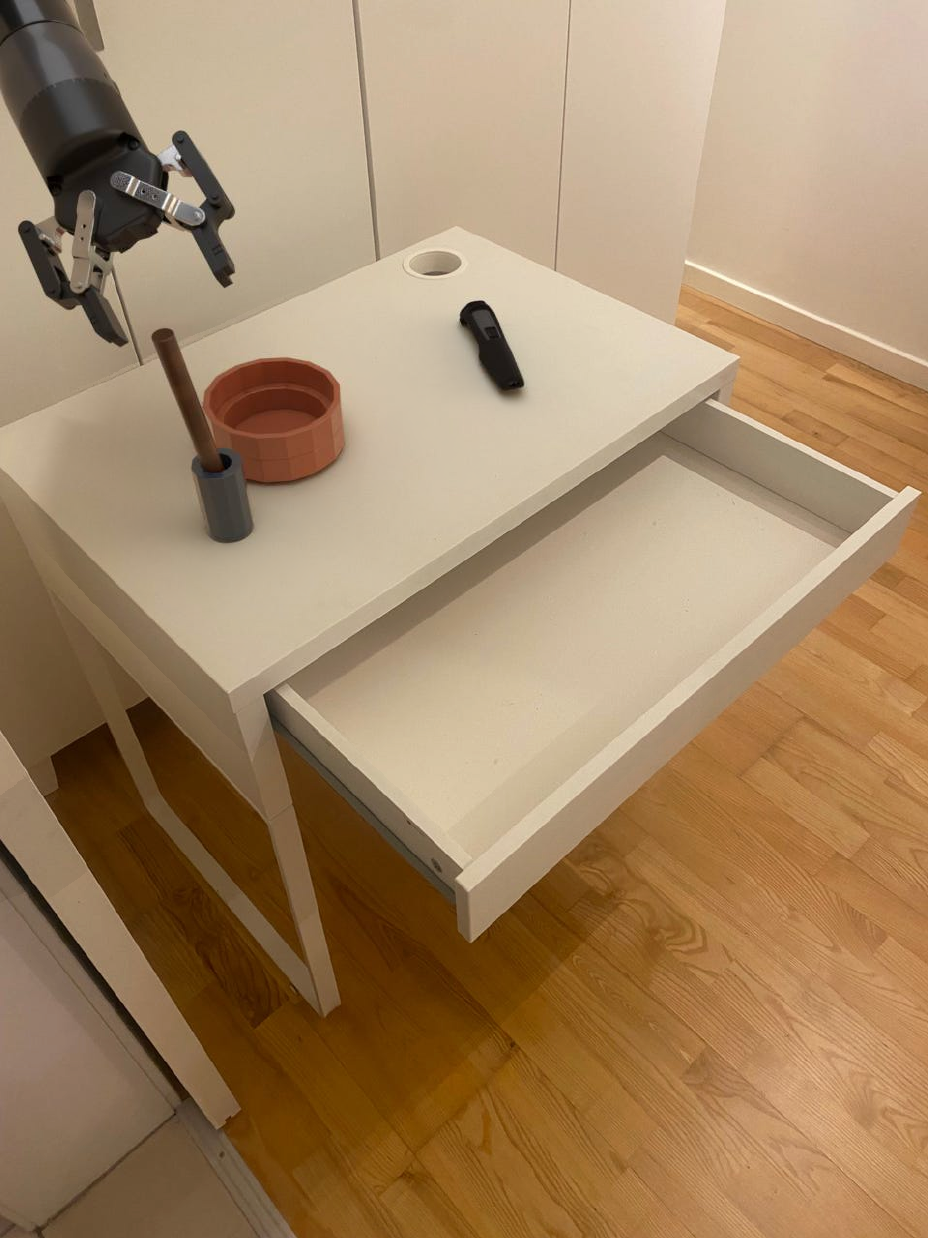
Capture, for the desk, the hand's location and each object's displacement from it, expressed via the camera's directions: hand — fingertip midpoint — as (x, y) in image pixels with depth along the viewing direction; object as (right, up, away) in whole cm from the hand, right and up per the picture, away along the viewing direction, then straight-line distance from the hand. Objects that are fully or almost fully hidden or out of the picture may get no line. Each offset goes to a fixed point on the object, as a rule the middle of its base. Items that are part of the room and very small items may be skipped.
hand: (172, 311), depth 67 cm
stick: (+1, -13, +16) cm, 20 cm away
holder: (0, -13, +16) cm, 21 cm away
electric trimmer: (+23, +6, +34) cm, 42 cm away
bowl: (+3, -5, +24) cm, 24 cm away
